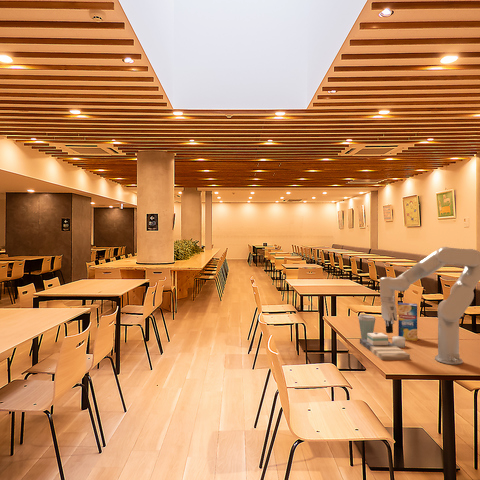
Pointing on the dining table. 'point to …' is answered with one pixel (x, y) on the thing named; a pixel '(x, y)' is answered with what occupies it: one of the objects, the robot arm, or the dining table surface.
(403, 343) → the white domed cylinder
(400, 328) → the beverage box
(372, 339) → the carton
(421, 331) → the dining table surface
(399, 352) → the beige flat board
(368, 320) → the disposable coffee cup
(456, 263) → the robot arm
